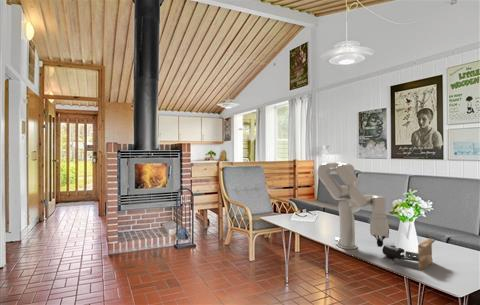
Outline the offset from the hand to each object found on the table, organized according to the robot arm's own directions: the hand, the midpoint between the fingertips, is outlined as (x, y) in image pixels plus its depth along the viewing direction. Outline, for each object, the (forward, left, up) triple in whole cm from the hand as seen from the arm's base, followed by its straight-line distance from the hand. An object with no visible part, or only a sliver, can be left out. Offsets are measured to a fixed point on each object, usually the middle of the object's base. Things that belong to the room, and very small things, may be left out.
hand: (380, 246), depth 185 cm
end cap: (+8, 0, -6) cm, 10 cm away
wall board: (+24, 0, -5) cm, 25 cm away
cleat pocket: (+18, 0, -5) cm, 18 cm away
